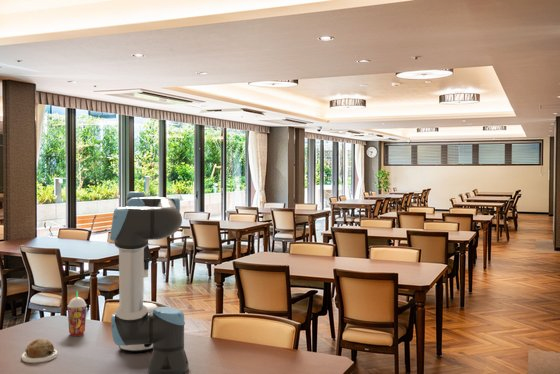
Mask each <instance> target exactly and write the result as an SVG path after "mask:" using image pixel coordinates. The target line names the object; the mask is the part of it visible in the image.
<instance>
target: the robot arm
mask: <svg viewBox="0 0 560 374" xmlns="http://www.w3.org/2000/svg"><path fill="white" fill-rule="evenodd" d="M145 195H146V194H145V192H143V191H128V192H127V195H126V203H125V206H119V207H116V208H115V209H114V210H113V215H112V220H111V230H110V235H109V240H110V241H113V242H114V246H115V247H116V248H117V249H118V267H119V269H118V275H119V279H118V284H119V285H118V287H119V288H118V289H119V290H118V295H119V298H118V299H119V303H118V305H119V306H118V307H117V308H116V309H115V311H114V313H112V314H111V318H110V325H111V335H112V340H113V342H114V344H115V345H117V346H118V345H125V346H128V345H140V344H153V349H152V353H151V357H150V359H149V362H148V365H147V372H148V373H149V374H185V373H187V372H188V371H189V369H190V368H189V359H188V357H187V353H186V350H185V325H186V322H185V314H184V312H183V311H182V310H181V309H178V308H176V307H170V306H159V307H158V306H157V308H154V310H153V312H147V311H148V310H147V308H146V306H144V305H143V302H144V287H145V285H144V282H145V279H144V278H149V269H150V267H149V265H150V262H152V261H153V257H152V255H151V251H150V248H149V241H151V240H152V241H154V240H162V239H166V238H169V237H170V236H172V235H174V234H176V232H177V231H178V230H179V229H180V228H181V226H182V223H183V216H182V214H181V212H180V211H181V207H180V206H181V201H180V198H179V197H173V196H171V197H170V196H169V197H154V196H153V197H147V196H145Z"/></svg>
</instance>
